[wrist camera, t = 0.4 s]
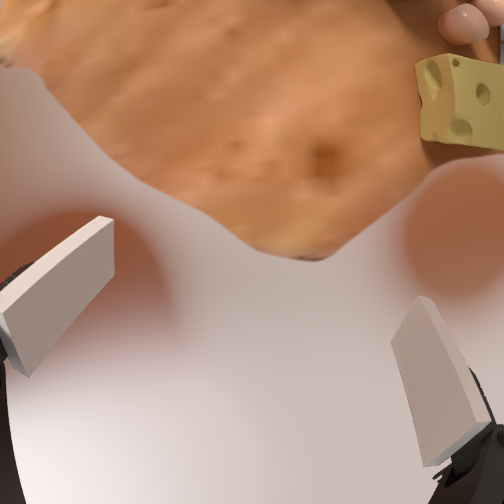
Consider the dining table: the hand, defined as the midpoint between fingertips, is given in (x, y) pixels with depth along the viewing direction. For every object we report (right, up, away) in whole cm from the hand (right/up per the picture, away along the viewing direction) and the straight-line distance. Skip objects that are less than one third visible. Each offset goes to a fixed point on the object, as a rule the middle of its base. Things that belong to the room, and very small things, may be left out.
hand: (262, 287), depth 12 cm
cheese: (+25, +21, +18) cm, 37 cm away
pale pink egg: (+32, +35, +10) cm, 49 cm away
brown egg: (+26, +31, +13) cm, 42 cm away
